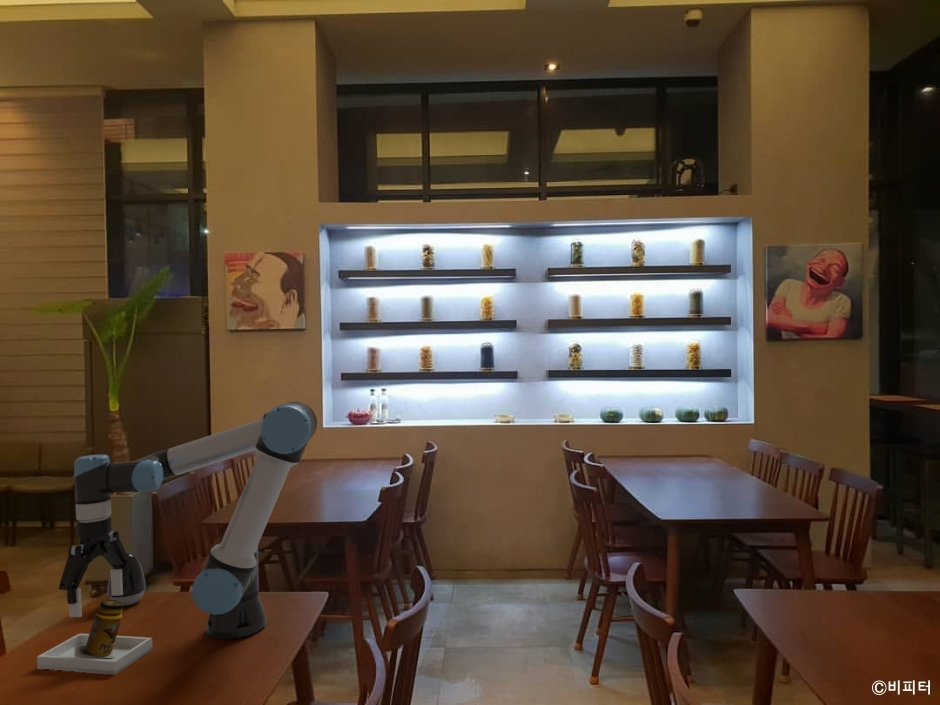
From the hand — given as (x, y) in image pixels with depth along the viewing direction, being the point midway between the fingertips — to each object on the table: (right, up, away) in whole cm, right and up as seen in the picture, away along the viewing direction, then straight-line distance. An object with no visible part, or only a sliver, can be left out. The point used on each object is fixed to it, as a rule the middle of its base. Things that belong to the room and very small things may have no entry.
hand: (97, 605), depth 159 cm
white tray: (0, -13, 0) cm, 13 cm away
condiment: (0, -11, -1) cm, 11 cm away
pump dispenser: (-13, -14, +37) cm, 42 cm away
